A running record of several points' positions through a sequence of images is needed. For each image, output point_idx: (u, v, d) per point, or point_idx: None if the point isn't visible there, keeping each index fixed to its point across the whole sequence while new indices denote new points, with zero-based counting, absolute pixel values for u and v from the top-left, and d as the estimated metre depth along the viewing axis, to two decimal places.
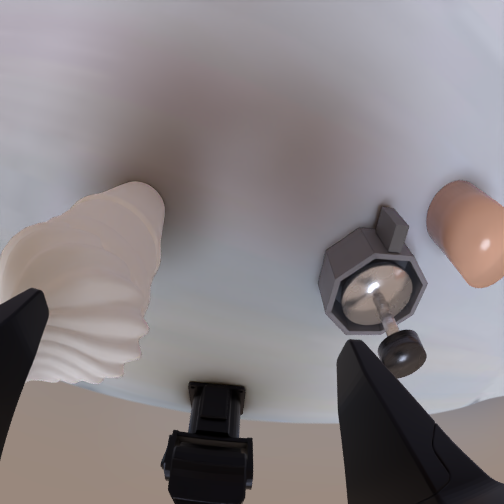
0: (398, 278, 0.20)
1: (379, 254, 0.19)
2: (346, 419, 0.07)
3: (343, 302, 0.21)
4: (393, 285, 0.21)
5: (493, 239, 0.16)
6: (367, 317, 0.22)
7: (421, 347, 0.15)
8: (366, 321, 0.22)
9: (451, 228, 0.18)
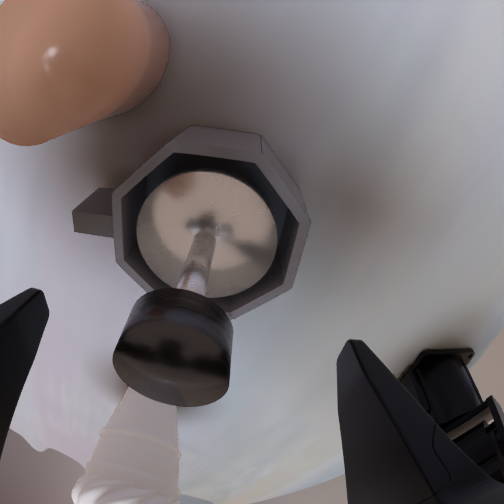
0: (159, 211, 0.11)
1: (116, 254, 0.12)
2: (346, 419, 0.07)
3: (211, 296, 0.13)
4: (175, 217, 0.11)
5: (7, 82, 0.06)
6: (254, 254, 0.12)
7: (118, 341, 0.06)
8: (264, 254, 0.12)
9: None
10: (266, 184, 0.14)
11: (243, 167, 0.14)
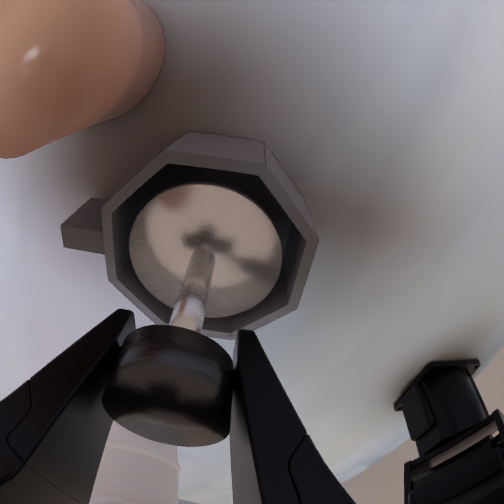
0: (153, 226, 0.10)
1: (108, 272, 0.11)
2: (231, 414, 0.07)
3: (211, 316, 0.12)
4: (171, 234, 0.10)
5: None
6: (256, 273, 0.11)
7: (107, 384, 0.05)
8: (268, 274, 0.11)
9: None
10: (270, 196, 0.13)
11: (245, 177, 0.13)
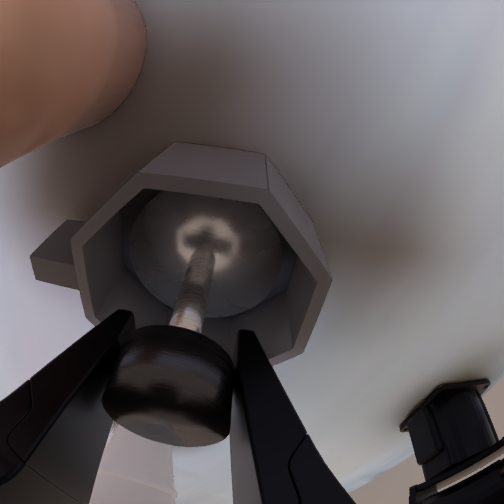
0: (153, 226, 0.10)
1: (85, 310, 0.09)
2: (231, 414, 0.07)
3: (211, 316, 0.12)
4: (171, 234, 0.10)
5: None
6: (256, 273, 0.11)
7: (107, 384, 0.05)
8: (268, 274, 0.11)
9: None
10: None
11: None
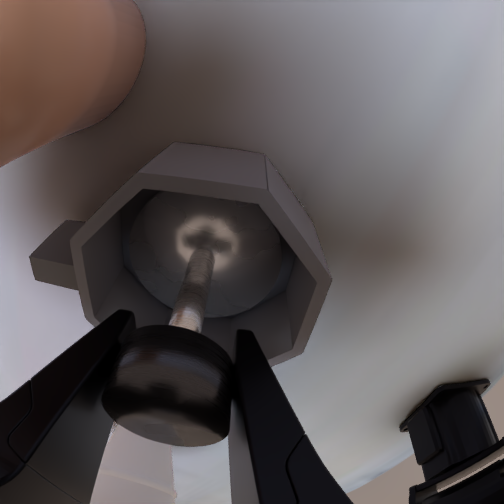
0: (153, 226, 0.10)
1: (85, 310, 0.09)
2: None
3: (210, 316, 0.12)
4: (171, 234, 0.10)
5: None
6: (256, 273, 0.11)
7: (106, 384, 0.05)
8: (268, 274, 0.11)
9: None
10: None
11: None
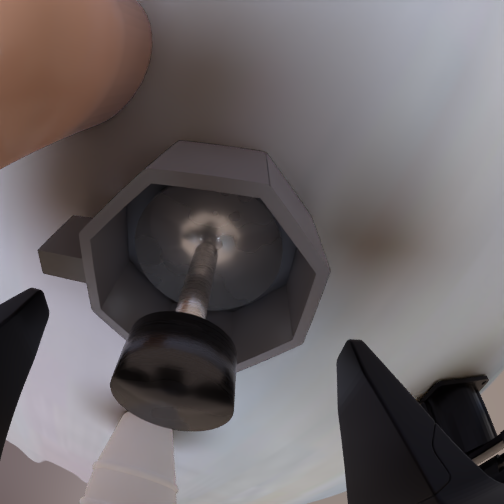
0: (159, 221, 0.11)
1: (92, 302, 0.10)
2: (346, 419, 0.07)
3: (213, 309, 0.13)
4: (175, 228, 0.11)
5: None
6: (257, 267, 0.12)
7: (116, 368, 0.06)
8: (269, 267, 0.12)
9: None
10: None
11: None
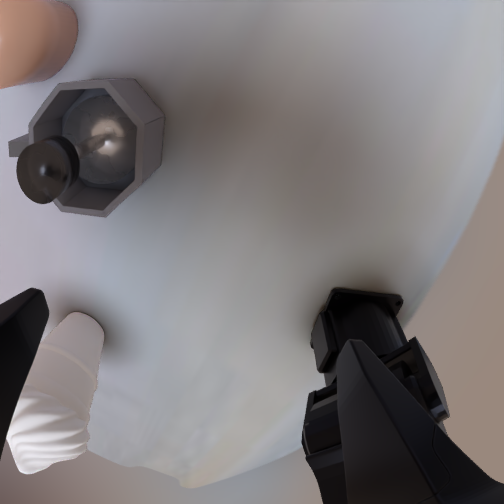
0: (74, 124, 0.15)
1: None
2: (346, 419, 0.07)
3: (106, 182, 0.17)
4: (83, 127, 0.15)
5: None
6: (127, 146, 0.16)
7: None
8: (134, 146, 0.16)
9: None
10: None
11: None
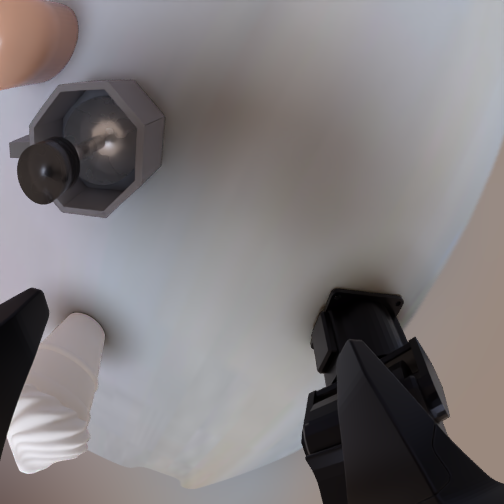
0: (75, 125, 0.15)
1: None
2: (346, 419, 0.07)
3: (106, 183, 0.17)
4: (83, 128, 0.16)
5: None
6: (127, 147, 0.16)
7: None
8: (134, 147, 0.16)
9: None
10: None
11: None
